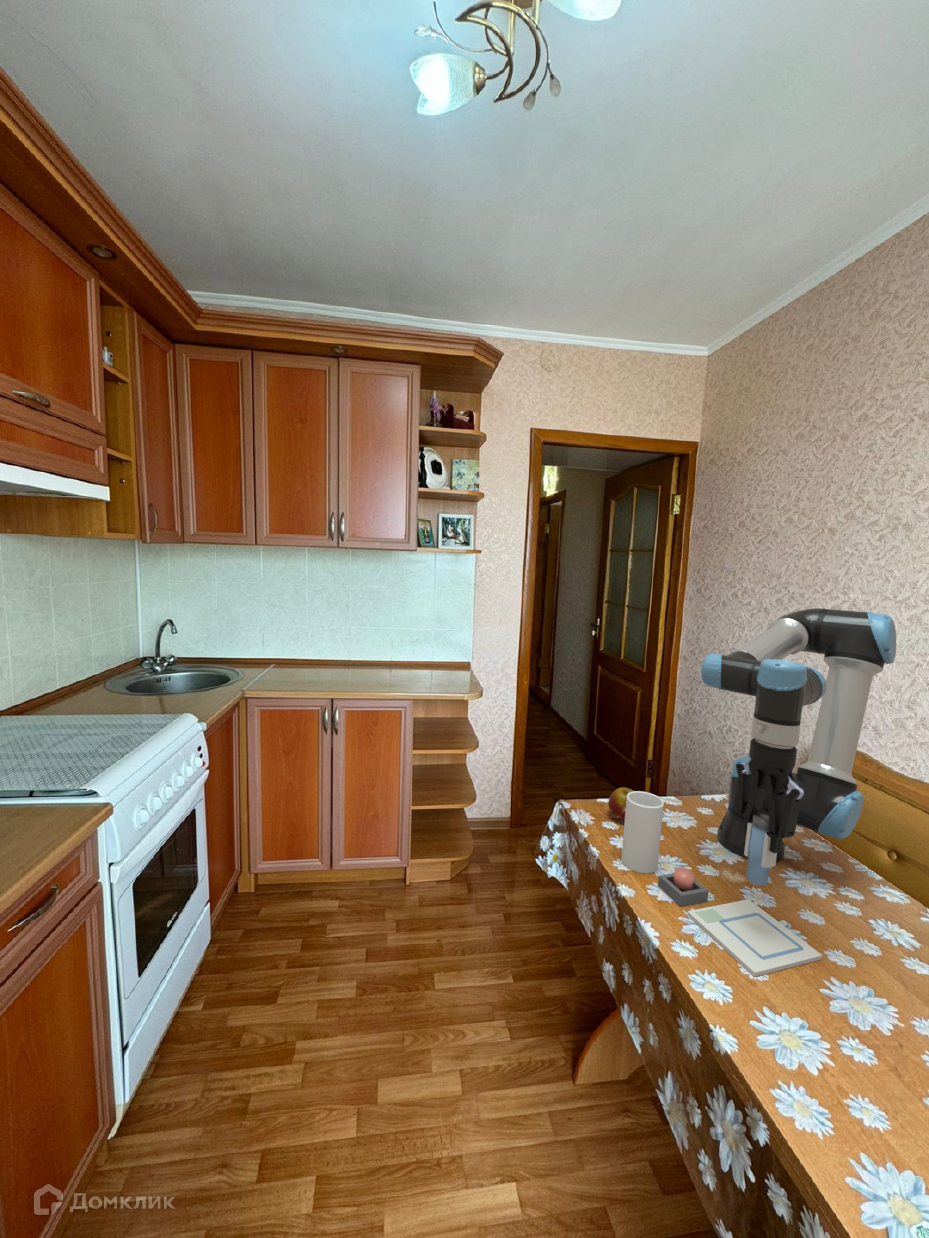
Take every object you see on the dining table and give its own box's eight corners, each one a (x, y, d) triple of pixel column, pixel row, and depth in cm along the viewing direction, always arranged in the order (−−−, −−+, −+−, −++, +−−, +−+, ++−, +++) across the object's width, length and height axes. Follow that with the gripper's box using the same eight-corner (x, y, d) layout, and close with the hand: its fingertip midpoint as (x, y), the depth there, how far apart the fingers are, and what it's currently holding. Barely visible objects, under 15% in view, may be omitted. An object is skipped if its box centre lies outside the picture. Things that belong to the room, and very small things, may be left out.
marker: (755, 872, 99) (763, 812, 98) (772, 884, 96) (781, 822, 95) (741, 875, 98) (748, 814, 97) (757, 887, 95) (765, 824, 93)
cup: (660, 876, 115) (667, 809, 113) (623, 870, 116) (629, 804, 115) (654, 856, 123) (660, 793, 121) (619, 850, 124) (625, 789, 123)
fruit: (636, 830, 135) (638, 801, 134) (602, 819, 140) (605, 792, 139) (644, 816, 143) (647, 789, 142) (613, 806, 148) (615, 780, 147)
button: (684, 876, 111) (685, 866, 111) (697, 888, 107) (698, 877, 107) (669, 879, 110) (670, 868, 109) (682, 890, 106) (683, 879, 106)
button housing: (683, 881, 113) (684, 871, 113) (707, 901, 106) (708, 890, 106) (657, 885, 111) (658, 875, 111) (680, 906, 104) (681, 895, 104)
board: (748, 902, 107) (748, 898, 107) (821, 959, 92) (822, 954, 91) (687, 914, 102) (687, 910, 102) (754, 976, 87) (754, 972, 87)
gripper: (723, 729, 101) (711, 840, 103) (799, 759, 85) (783, 888, 88) (752, 727, 103) (739, 836, 105) (831, 756, 88) (814, 882, 90)
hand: (759, 859), depth 97 cm, fingers closed on marker, 3 cm apart
